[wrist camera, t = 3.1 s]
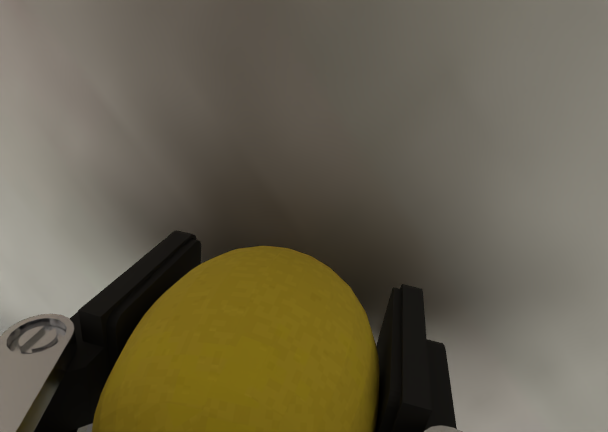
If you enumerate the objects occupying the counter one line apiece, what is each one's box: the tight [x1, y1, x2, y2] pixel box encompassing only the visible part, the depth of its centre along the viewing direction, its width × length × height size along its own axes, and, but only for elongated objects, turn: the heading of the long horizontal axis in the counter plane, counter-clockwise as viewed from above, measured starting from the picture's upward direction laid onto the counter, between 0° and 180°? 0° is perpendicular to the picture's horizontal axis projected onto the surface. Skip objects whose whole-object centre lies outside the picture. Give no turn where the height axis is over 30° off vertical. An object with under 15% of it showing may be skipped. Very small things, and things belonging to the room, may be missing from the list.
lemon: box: [92, 246, 379, 432], centre depth 9 cm, size 6×6×8 cm
